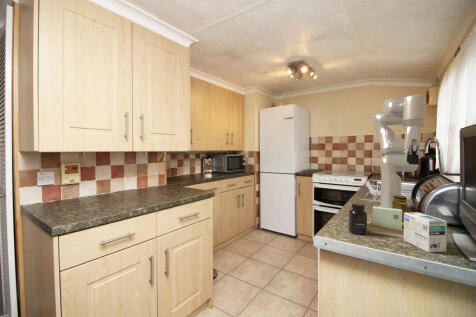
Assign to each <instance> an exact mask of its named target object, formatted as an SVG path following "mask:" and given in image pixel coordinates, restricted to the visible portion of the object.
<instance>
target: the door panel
mask: <svg viewBox="0 0 476 317" xmlns="http://www.w3.org/2000/svg"><path fill="white" fill-rule="evenodd" d="M372 221H373V225H377V226H384V227H391V228H397V229H402V225H403V224H402V210H401V209H392V208H383V207H378V206H372Z"/></svg>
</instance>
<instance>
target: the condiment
mask: <svg viewBox="0 0 476 317" xmlns="http://www.w3.org/2000/svg"><path fill="white" fill-rule="evenodd" d="M392 209H401V210H402V225H404V213H408V201H407V196H404V195H401V196H399V195H395V196H393V201H392Z"/></svg>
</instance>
